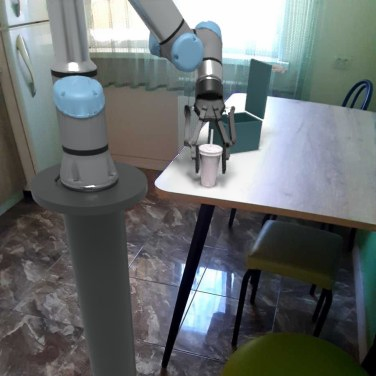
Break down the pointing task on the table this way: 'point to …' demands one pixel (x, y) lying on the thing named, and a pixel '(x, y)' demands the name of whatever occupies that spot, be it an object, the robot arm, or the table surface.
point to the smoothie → (209, 162)
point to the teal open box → (239, 132)
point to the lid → (259, 86)
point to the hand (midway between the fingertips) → (210, 171)
